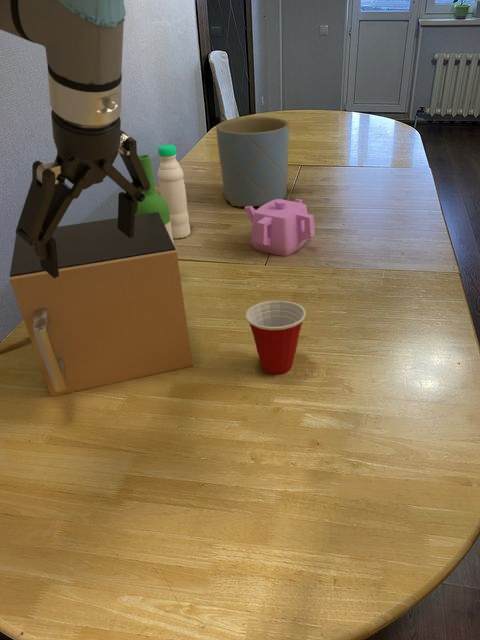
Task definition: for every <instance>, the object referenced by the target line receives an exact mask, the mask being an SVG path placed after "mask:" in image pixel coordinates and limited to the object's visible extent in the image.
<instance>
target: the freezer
mask: <svg viewBox="0 0 480 640" xmlns="http://www.w3.org/2000/svg"><path fill="white" fill-rule="evenodd" d="M51 237H53V238H54V239H55V240H56V249H57V260H58V269H62V268H68V267H74V266H80V265H86V264H92V263H98V262H105V261H111V260H117V259H123V258H129V257H135V256H141V255H147V254H154V253H160V252H166V251H172V250H176V249H177V248H176V246H175V243H174V244H173V242H174V241H173V242H172V240H171V238H170V236H169V234H168V231H167V229H166V227H165V225H164V223H163V221H162V219H161V216H160V214H159V212H156V213H149V214H142V215H135V223H134V236H133V237H132V238H129V237H128V236H126V235H125V234H124V233H123V232H121V231H120V230H119V229H118V217H115V218H108V219H101V220H96V221H95V220H94V221H93V220H92V221H88V222H81V223H74V224H73V223H72V224H66V225H58V226H57V228H56V229H55V231H54V233H53V235H52V236H51ZM13 246H14V247H13V252H12V258H11V264H10V271H9V278H10V277H13V276H19V275H25V274H31V273H37V272H43V271H45V270H44V269H43V268H41V262H40V258H39V257H38V256H37V255H36V254H35V253H34V247H33V245H32V246H30V245H29V244H28V243H26V242H25V241H24V240H23V239H22V238H20V237H19V236H18V235H17V234H16V233H15V239H14V245H13ZM176 251H177V250H176Z"/></svg>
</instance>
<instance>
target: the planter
mask: <svg viewBox="0 0 480 640" xmlns="http://www.w3.org/2000/svg"><path fill="white" fill-rule="evenodd" d="M215 129H216V130H215V131H216V137H217V148H218V156H219V163H220V164H219V165H220V171H221V177H222V179H221V180H222V187H223V194H224V195H223V196H224V198H225V200H226V201H228V202H229V204H230V205H231V206H232V205H234V206H238V207H237V208H240V207H243V208H244V207H247V206H252V207H261V206H263V205H264V204H266V203H268V202H270V201H272V200H275V199H283V200H285V198H286V196H287V194H288V171H289V167H288V166H289V153H290V151H289V147H290V123H289V121H288V120H285V119H283V118H280V117H279V118H278V117H271V116H247V117H246V116H245V117H244V116H243V117H235V118H231V119H227V120H223V121H221V122H219V123H218V124H217V125H216V128H215Z"/></svg>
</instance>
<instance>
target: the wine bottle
mask: <svg viewBox="0 0 480 640" xmlns="http://www.w3.org/2000/svg"><path fill="white" fill-rule="evenodd" d="M138 157H139V159H140V162H141V164H142V166H143V169H144V171H145V173H146V175H147V178H148V180H149V182H150V185H151V187H150V189H149V190H148V191H145V190H144V191H143V192H141V193H142V194H144V195H145V199H144V201H143V202H139V201H138V211H137V214H135V215H142V214H149V213H156V212H159V214H160V216H161V219H162V221H163V223H164V225H165V227H166V229H167V231H168V234H169V236H170V238H171V240H172V242H173V244H174V245H175V242H174V239H173V235H172V228H171V221H170V215H169V208H168V205H167V203H166V201H165V199H164V198H163V197H162V196H161V195H160V193H158V192H157V190H156V185H155V179H154V172H153V166H152V160H151V156H150V155H149V154H140V155H138Z"/></svg>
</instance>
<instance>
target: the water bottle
mask: <svg viewBox="0 0 480 640" xmlns="http://www.w3.org/2000/svg"><path fill="white" fill-rule="evenodd" d="M157 153H158V156H159V158H160V163H159V168H158V170H157V179H158V184H159V185H158V187H159V195H161V196H162V197H163V198H164V199H165V201H166V203H167V205H168V208H169V215H170V221H171V228H172V235H173V238H174V239H173V240H179V238H181V239H184V237H185V238H187V237H189V236H190V235H191V226H190V221H189V219H190V218H189V216H190V215H189V212H188V211H189V210H188V203H187V202H188V201H187V192H186V191H187V190H186V185H185V179H184V170H183V168H182V167H181V165H180V163H179V162H178V161H177V159H176V157H177V147H176V146H175V145H174V144H169V143H168V144H161V145H160V146H158V148H157Z"/></svg>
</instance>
